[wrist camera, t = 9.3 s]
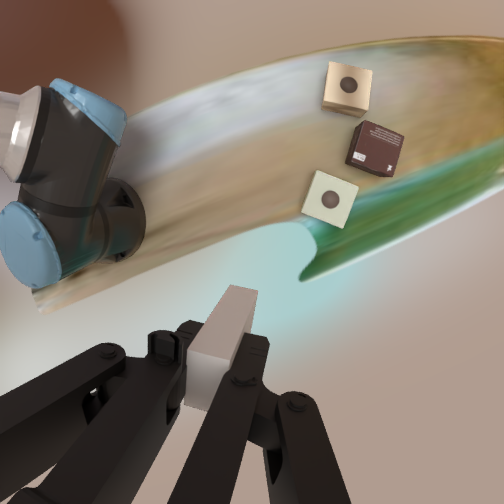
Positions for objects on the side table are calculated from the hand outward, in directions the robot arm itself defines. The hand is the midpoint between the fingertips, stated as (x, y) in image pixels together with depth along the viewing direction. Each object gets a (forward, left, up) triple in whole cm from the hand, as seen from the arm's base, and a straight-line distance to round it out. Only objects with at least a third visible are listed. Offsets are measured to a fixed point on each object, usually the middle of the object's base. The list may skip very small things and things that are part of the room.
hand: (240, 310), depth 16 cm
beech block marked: (+6, +21, -33) cm, 39 cm away
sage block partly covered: (+6, +5, -33) cm, 33 cm away
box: (+11, +13, -33) cm, 37 cm away
